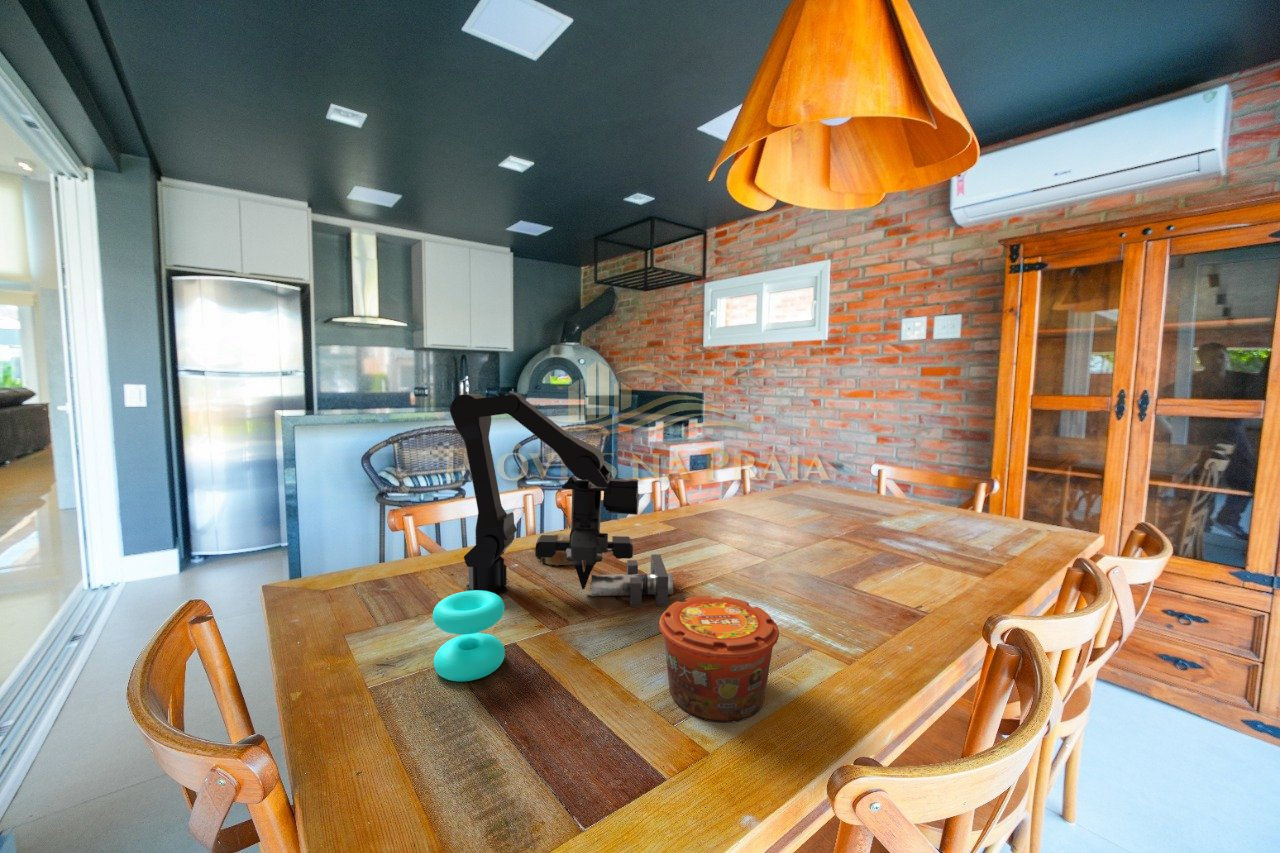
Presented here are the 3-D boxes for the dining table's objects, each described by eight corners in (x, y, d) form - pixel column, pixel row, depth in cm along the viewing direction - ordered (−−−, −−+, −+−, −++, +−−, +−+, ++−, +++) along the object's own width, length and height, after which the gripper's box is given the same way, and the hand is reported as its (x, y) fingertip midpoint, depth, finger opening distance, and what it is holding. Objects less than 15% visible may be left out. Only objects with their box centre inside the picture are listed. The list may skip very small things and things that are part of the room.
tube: (591, 600, 101) (591, 584, 99) (591, 586, 105) (591, 570, 103) (672, 598, 102) (673, 582, 101) (670, 584, 106) (671, 569, 104)
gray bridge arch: (657, 606, 97) (657, 576, 97) (650, 580, 110) (650, 554, 109) (667, 605, 98) (668, 576, 97) (659, 580, 110) (660, 554, 110)
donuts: (492, 617, 70) (420, 615, 71) (493, 687, 71) (421, 684, 72) (512, 588, 80) (449, 586, 81) (512, 649, 81) (450, 647, 82)
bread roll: (569, 583, 117) (585, 552, 117) (529, 563, 117) (544, 532, 116) (575, 567, 127) (589, 539, 127) (538, 549, 127) (552, 520, 126)
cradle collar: (630, 606, 97) (631, 583, 97) (627, 581, 109) (627, 560, 109) (641, 606, 97) (641, 583, 97) (636, 580, 110) (636, 560, 109)
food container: (693, 746, 60) (696, 658, 59) (639, 674, 75) (640, 602, 74) (802, 713, 67) (805, 633, 66) (732, 652, 81) (734, 586, 80)
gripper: (532, 521, 92) (530, 606, 94) (636, 523, 94) (632, 606, 95) (539, 506, 103) (537, 582, 105) (632, 508, 105) (629, 583, 106)
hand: (583, 588), depth 102 cm, fingers closed
